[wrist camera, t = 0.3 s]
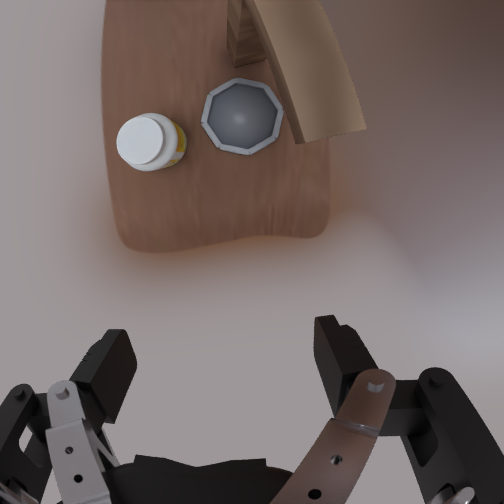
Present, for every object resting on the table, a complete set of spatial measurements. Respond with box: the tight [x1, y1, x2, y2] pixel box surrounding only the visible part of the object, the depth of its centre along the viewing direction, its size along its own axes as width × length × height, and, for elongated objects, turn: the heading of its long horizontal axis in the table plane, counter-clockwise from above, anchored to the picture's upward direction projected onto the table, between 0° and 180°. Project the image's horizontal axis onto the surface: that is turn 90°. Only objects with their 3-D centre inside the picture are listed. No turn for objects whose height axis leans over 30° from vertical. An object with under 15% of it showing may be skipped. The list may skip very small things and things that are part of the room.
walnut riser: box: [227, 0, 367, 144], centre depth 19 cm, size 4×13×18 cm, turn 17°
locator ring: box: [201, 78, 284, 155], centre depth 27 cm, size 8×8×2 cm
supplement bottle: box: [117, 113, 187, 171], centre depth 24 cm, size 5×5×10 cm
